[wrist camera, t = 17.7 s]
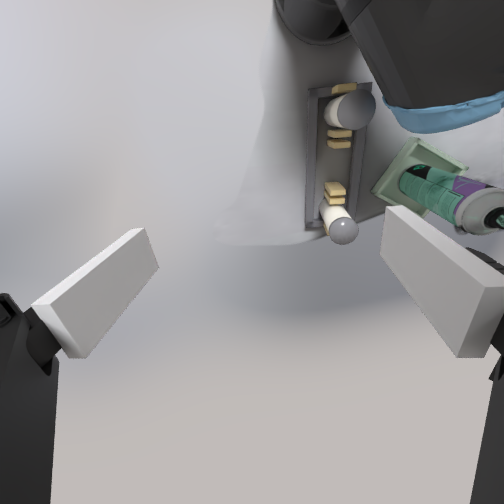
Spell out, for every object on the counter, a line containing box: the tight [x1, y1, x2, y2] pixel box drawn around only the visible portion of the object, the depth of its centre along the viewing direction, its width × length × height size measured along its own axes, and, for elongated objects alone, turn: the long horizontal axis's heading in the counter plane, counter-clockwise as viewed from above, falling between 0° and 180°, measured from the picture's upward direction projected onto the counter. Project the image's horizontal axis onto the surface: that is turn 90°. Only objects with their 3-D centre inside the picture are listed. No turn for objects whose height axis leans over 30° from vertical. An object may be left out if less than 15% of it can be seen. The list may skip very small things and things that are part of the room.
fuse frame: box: [305, 82, 372, 236], centre depth 40 cm, size 23×9×6 cm, turn 5°
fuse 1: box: [324, 89, 376, 130], centre depth 34 cm, size 4×4×12 cm
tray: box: [370, 137, 469, 219], centre depth 42 cm, size 10×10×2 cm
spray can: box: [397, 164, 504, 235], centre depth 34 cm, size 6×6×20 cm
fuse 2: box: [319, 198, 359, 245], centre depth 42 cm, size 4×4×12 cm
